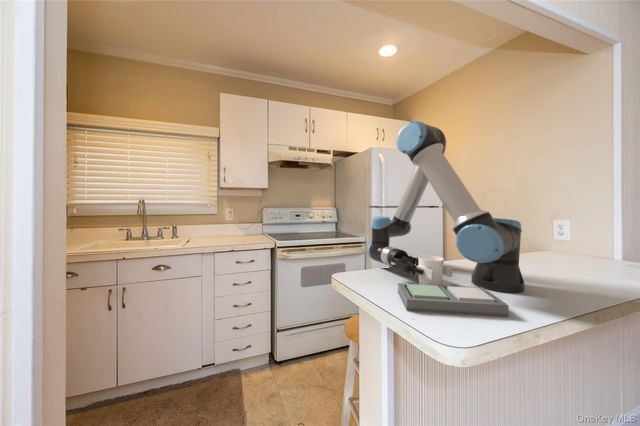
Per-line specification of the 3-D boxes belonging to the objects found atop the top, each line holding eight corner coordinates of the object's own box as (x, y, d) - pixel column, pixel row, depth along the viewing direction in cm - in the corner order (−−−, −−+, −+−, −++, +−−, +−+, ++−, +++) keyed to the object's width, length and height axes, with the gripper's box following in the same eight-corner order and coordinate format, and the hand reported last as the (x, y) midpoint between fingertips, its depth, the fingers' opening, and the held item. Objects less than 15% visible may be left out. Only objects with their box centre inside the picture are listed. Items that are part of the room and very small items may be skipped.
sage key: (436, 289, 78) (436, 285, 78) (447, 300, 69) (447, 296, 69) (406, 287, 79) (406, 284, 79) (413, 298, 70) (413, 294, 70)
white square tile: (478, 291, 77) (478, 287, 76) (494, 303, 68) (494, 299, 68) (446, 289, 78) (447, 286, 78) (458, 301, 69) (459, 297, 69)
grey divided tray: (481, 297, 79) (482, 287, 78) (507, 316, 66) (508, 305, 65) (397, 292, 82) (398, 283, 81) (406, 310, 69) (407, 299, 68)
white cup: (445, 292, 82) (446, 261, 81) (419, 290, 83) (420, 259, 83) (439, 284, 90) (440, 256, 89) (415, 282, 91) (416, 254, 91)
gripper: (414, 264, 107) (464, 281, 86) (373, 269, 99) (417, 289, 78) (415, 246, 106) (465, 259, 85) (373, 250, 99) (418, 264, 78)
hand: (442, 273), depth 82 cm, fingers closed on white cup, 7 cm apart
